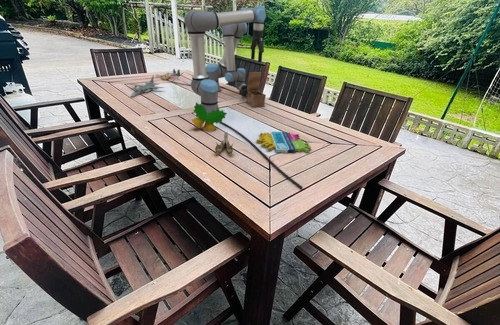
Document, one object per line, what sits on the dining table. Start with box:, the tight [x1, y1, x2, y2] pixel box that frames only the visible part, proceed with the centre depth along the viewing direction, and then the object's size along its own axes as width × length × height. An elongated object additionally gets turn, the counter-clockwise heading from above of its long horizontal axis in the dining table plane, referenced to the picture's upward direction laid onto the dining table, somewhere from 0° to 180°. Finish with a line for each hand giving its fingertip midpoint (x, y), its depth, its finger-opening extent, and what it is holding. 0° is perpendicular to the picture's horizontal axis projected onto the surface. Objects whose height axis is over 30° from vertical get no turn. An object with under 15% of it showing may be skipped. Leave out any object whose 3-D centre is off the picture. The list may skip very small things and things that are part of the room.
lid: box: [247, 70, 262, 90], centre depth 214 cm, size 15×10×9 cm
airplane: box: [129, 74, 165, 98], centre depth 227 cm, size 38×31×10 cm
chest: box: [246, 90, 266, 108], centre depth 214 cm, size 14×10×10 cm
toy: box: [155, 68, 181, 81], centre depth 282 cm, size 28×7×30 cm
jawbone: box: [214, 131, 234, 156], centre depth 136 cm, size 9×15×10 cm
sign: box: [256, 131, 312, 154], centre depth 152 cm, size 26×2×30 cm
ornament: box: [191, 102, 228, 132], centre depth 162 cm, size 21×8×15 cm, turn 105°
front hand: (256, 60), depth 203 cm, fingers open, 13 cm apart
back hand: (253, 95), depth 216 cm, fingers open, 13 cm apart
